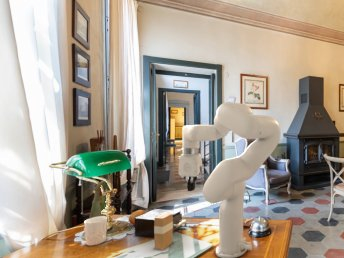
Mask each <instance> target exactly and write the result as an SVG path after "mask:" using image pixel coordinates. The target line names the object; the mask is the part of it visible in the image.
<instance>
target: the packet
mask: <svg viewBox="0 0 344 258" xmlns="http://www.w3.org/2000/svg"><path fill="white" fill-rule="evenodd" d="M154 234H155V238H154V250H161V251H162V250H165V249H166V248H168V247H169V246H170V245H172V244H173V243H174V236H173V235H174V232H173V213H163V214H161V215H159V216H157V217H155V218H154Z"/></svg>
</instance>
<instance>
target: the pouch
mask: <svg viewBox="0 0 344 258" xmlns="http://www.w3.org/2000/svg"><path fill="white" fill-rule="evenodd" d="M105 179H106V180H107V181H108V179H107V178H105ZM101 185H102V186H103V188H104V191H108V182H107V183H106V182H105V181H103V179H101V180H100V182H97V183H96V186H95V188H94V190H95V191H94V197H93V200H92V201H91V205H92V206H91V209H90V213H89V217H88V219H90V218H93V217H98V216H106V215H103V214H101V211H102V210H103V209H105V207H106V203H105V201H106V196H102V192H101V188H100V187H101ZM106 217H107V216H106ZM107 222H108V217H107Z"/></svg>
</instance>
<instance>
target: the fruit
mask: <svg viewBox="0 0 344 258" xmlns="http://www.w3.org/2000/svg"><path fill="white" fill-rule="evenodd" d="M145 213H147V212H146V211H145V209H138V210H136V211H133V212H132V213H131V214H130V215H129V217H128V222H129V223H130V224H131V225H133V226H135V218H136V217H138V216H141V215H143V214H145Z"/></svg>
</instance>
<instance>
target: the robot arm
mask: <svg viewBox="0 0 344 258" xmlns="http://www.w3.org/2000/svg"><path fill="white" fill-rule="evenodd" d="M181 130H182V131H181V135H182V136H181V138H182V139H181V141H182V145H181V147H182V148H180V152H181V153H182V154H180V157H179V161H178V175H179V176H180V178H182V179H184V180H185V182H186V185H187V187H186V189H187V192H193V191H195V190H196V182H197V180H199V179H203V172H204V171H203V170H204V167H203V159H202V154H201V153H200V151H201V149H200V147H201V146H200V145H201V143H200V142H213V141H217V140H220V139H223V138H225V137H226V136H227V135H228V134H229V132H232V133H233V134H235V135H236V136H238V137H240V138H242V139H247V140H253V142H251V143H250V144H249V145H248V146H246V149H245V150H244V151H243V153H241V154H240V155H239V156H235V157H230V158H226V159H223V160H222V161H220V162H219V163H218V164H216V166H215V167H214V169H213V170H212V172H211V173H210V175H209V176H208V178H207V179H206V180H205V182H204V185H203V187H202V195H203V198H204V199H205V201H206V202H207V203H210V204H218V203H219V204H220V205H219V213H218V217H219V219H218V221H219V231H218V232H219V241H218V242H219V244H218V245H217V246H216V248H215V255H216V256H217V257H218V258H238V257H241V256H243V255H245V253H247V251H252V250H253V245H252V244H253V243H252V242H251V241H247V240H246V239H247V238H246V237H245V236H244V200H245V194H246V187H247V183H246V181H248V180H250V179H252V178H253V177H254V176H255V174H256V173H257V172H258V171H259V170H260V168H261V167H262V166H263V164H264V163H265V162H266V160H268V158H269V157H270V156H271V155H272V153H274V151H275V149H276V148H277V147H278V145H279V142H280V141H281V140H280V139H281V127H280V124H279V121H277V119H275V118H274V117H272V116H268V115H261V114H254V112H253V110H252V107H250V106H249V105H247V104H245V103H241V102H232V101H231V102H230V101H226V102H223V103H221V104H220V105H219V106H218V107H217V109H216V114H215V116H214V118H213V124H193V125H190V124H189V125H183V126H182V129H181ZM254 139H255V140H254Z"/></svg>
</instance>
